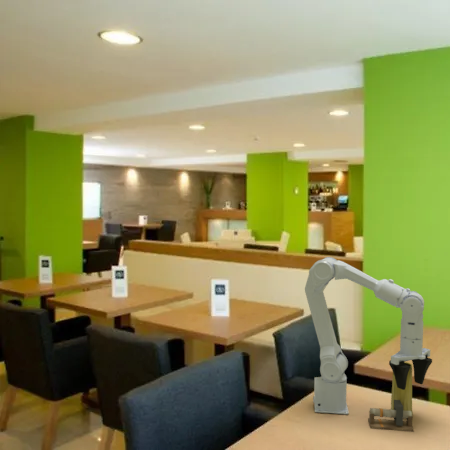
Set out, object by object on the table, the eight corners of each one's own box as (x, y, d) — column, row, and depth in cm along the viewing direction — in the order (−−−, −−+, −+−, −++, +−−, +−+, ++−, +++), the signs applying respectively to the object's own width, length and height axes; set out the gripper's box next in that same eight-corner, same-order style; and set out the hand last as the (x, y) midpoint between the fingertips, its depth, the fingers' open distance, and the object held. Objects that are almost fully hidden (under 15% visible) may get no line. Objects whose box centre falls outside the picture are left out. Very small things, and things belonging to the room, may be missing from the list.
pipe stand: (370, 428, 132) (370, 411, 132) (368, 420, 137) (368, 404, 137) (413, 431, 131) (414, 414, 131) (409, 423, 136) (409, 407, 136)
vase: (409, 409, 145) (410, 361, 144) (415, 418, 139) (416, 368, 138) (388, 408, 146) (389, 360, 145) (393, 417, 140) (394, 367, 139)
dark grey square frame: (396, 425, 132) (397, 406, 132) (393, 418, 136) (393, 399, 136) (402, 425, 131) (403, 406, 131) (399, 418, 136) (400, 400, 136)
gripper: (407, 344, 128) (405, 395, 129) (440, 336, 136) (439, 385, 137) (384, 337, 134) (383, 387, 135) (418, 330, 142) (417, 377, 143)
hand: (410, 385), depth 136 cm, fingers open, 7 cm apart
